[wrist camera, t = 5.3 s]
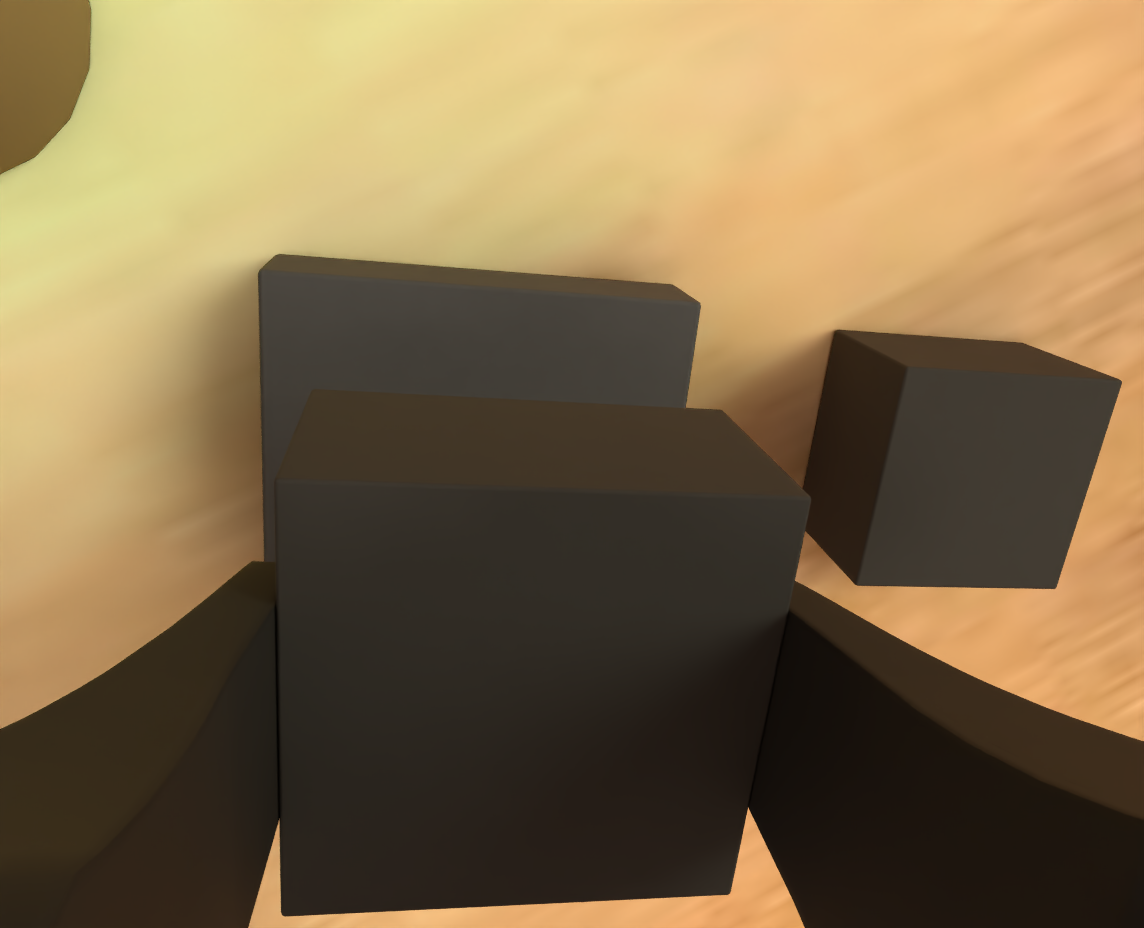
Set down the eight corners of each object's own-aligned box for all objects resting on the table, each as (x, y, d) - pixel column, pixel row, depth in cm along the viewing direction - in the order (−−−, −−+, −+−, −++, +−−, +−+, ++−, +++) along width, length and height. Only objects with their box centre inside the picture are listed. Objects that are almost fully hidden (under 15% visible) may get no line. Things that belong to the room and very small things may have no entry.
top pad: (972, 526, 22) (1056, 590, 19) (795, 521, 21) (855, 586, 18) (1022, 342, 20) (1124, 380, 17) (834, 329, 20) (907, 366, 17)
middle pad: (668, 738, 15) (731, 897, 12) (311, 744, 14) (281, 918, 11) (722, 409, 13) (813, 497, 10) (311, 387, 12) (273, 478, 9)
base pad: (628, 620, 21) (648, 667, 20) (280, 616, 20) (265, 667, 18) (675, 284, 19) (703, 302, 17) (274, 252, 17) (256, 269, 15)
